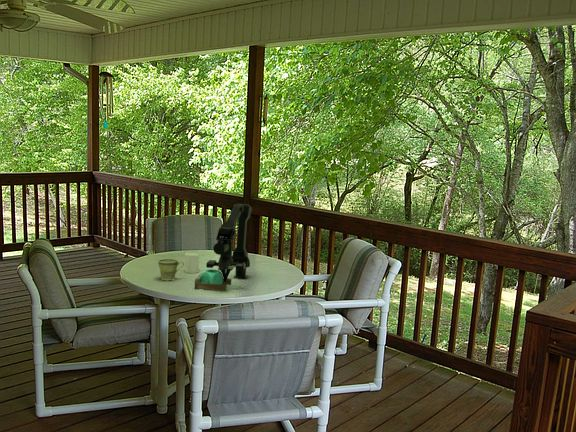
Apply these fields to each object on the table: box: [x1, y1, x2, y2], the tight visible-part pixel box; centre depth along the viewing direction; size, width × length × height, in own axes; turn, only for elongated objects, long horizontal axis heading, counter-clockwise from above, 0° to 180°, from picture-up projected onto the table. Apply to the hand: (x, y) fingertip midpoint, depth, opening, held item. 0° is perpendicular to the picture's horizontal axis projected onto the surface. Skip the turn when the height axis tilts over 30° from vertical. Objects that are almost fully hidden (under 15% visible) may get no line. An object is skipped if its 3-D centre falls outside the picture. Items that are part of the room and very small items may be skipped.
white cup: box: [184, 252, 200, 274], centre depth 305 cm, size 8×8×10 cm
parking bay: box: [194, 272, 232, 292], centre depth 277 cm, size 14×16×5 cm
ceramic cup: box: [157, 258, 185, 281], centre depth 287 cm, size 13×10×10 cm
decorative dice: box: [201, 268, 223, 284], centre depth 277 cm, size 8×8×8 cm
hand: (225, 281), depth 277 cm, fingers closed
